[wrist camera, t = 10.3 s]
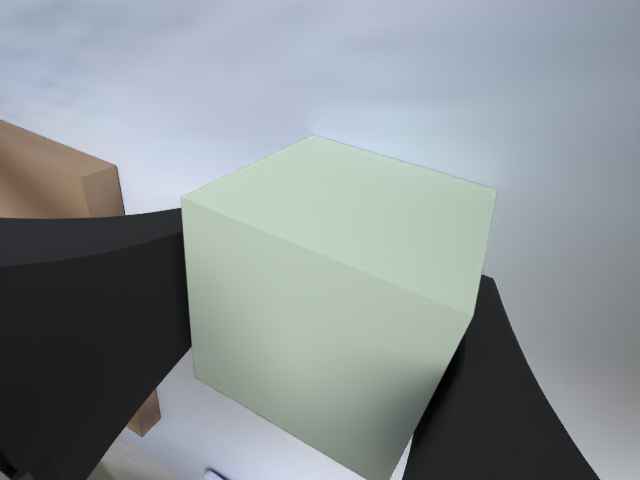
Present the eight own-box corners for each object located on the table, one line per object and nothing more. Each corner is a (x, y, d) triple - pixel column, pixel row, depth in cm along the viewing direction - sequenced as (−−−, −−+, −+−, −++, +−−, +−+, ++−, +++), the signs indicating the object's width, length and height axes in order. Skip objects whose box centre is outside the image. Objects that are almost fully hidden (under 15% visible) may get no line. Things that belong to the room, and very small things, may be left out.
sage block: (433, 334, 11) (384, 489, 8) (294, 273, 13) (194, 377, 9) (497, 189, 9) (472, 316, 5) (312, 134, 10) (180, 196, 6)
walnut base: (160, 418, 25) (142, 437, 23) (26, 329, 29) (5, 342, 28) (115, 165, 15) (80, 177, 14) (-77, 89, 19) (-117, 92, 18)
